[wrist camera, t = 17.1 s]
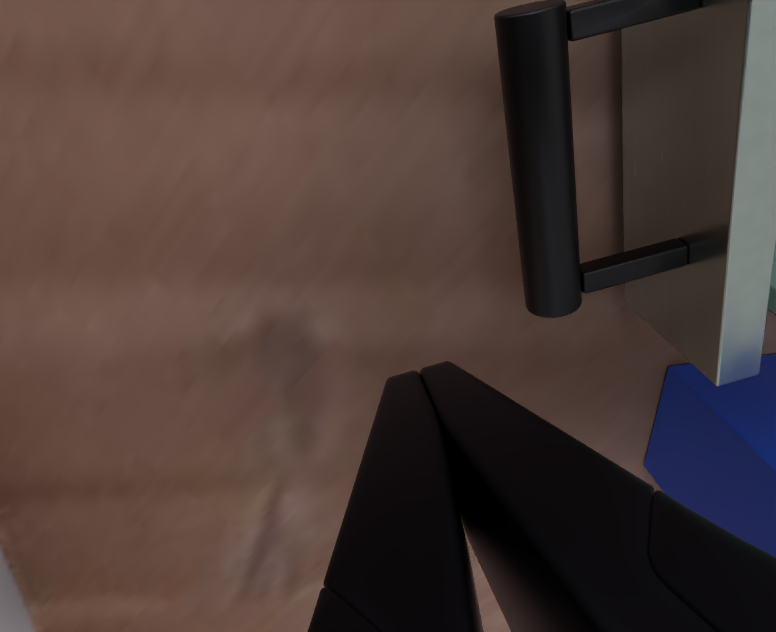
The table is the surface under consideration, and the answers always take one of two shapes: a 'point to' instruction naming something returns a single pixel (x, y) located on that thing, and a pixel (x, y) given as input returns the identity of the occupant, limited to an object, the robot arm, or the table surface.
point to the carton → (720, 449)
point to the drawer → (655, 168)
